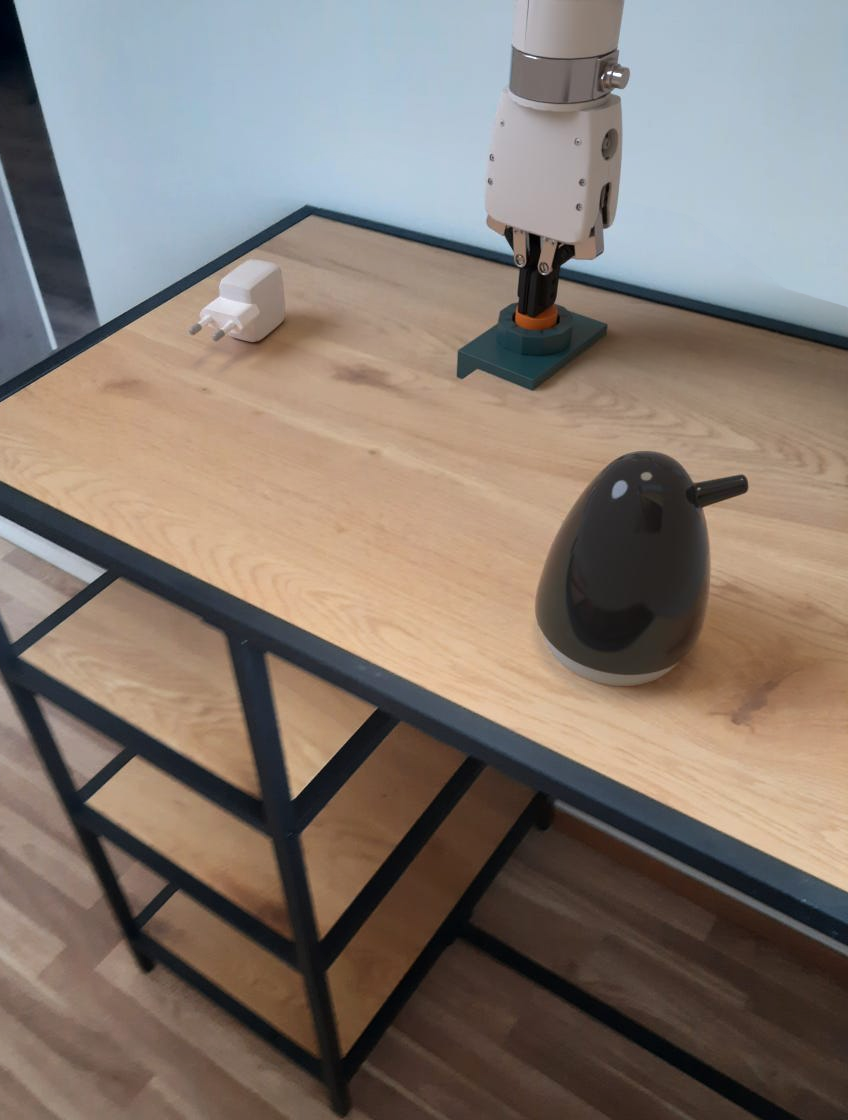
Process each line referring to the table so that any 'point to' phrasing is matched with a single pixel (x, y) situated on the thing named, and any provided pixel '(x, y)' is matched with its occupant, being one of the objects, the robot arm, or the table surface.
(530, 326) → the orange button
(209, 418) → the table surface
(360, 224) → the table surface
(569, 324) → the button housing
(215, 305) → the power adapter
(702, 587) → the pump dispenser
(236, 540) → the table surface
